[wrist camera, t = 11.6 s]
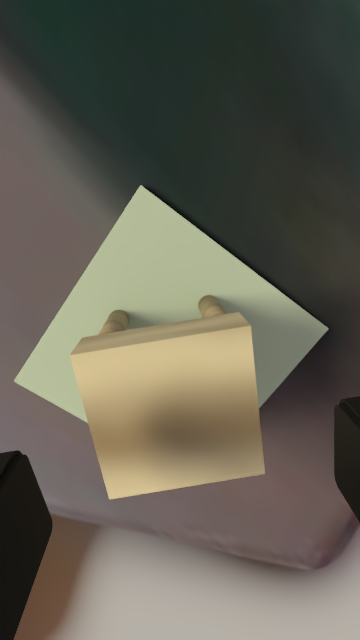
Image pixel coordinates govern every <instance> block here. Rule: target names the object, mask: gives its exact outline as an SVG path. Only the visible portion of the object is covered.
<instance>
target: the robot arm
mask: <svg viewBox="0 0 360 640" xmlns="http://www.w3.org/2000/svg"><path fill="white" fill-rule="evenodd" d="M334 474H335V480H336V483H337V486H338V488H339V490H340V491H341V493H342V495H343V496H344V498H345V499H346V501H347V503H348V504H349V506H350V508H351V509H352V511H353V512H354V514H355V516H356V517H357V519H358V520H359V522H360V396H359V397H353V398H346V399H342V400H340V403H339V405H336V406H335V409H334ZM51 532H52V519H51V516H50V513H49V511H48V508H47V506H46V503H45V500H44V498H43V495H42V493H41V490H40V487H39V485H38V482H37V480H36V477H35V475H34V472H33V469H32V467H31V464H30V462H29V459H28V457H27V456H26V455H22V453H21V452H20V451H11V452H5V453H0V640H13V639H14V636H15V634H16V631H17V628H18V625H19V622H20V619H21V617H22V614H23V611H24V608H25V605H26V603H27V600H28V597H29V594H30V591H31V588H32V586H33V583H34V580H35V577H36V574H37V572H38V568H39V566H40V563H41V560H42V558H43V555H44V552H45V549H46V546H47V544H48V541H49V537H50V535H51Z"/></svg>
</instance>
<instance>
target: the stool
mask: <svg viewBox="0 0 360 640" xmlns="http://www.w3.org/2000/svg"><path fill="white" fill-rule="evenodd" d="M198 307H199V310H200V312H201V315H202V317H203V318H199V319H193V320H187V321H180V322H174V323H168V324H162V325H156V326H150V327H144V328H138V329H132V330H126V328H127V325H128V323H129V317H128V315H127V314H126V313H125V312H124V311H122V310H115V311H113V312H111V314H110V315H109V317H108V319H107V320H106V322H105V324H104V325H103V327H102V329H101V330H100V332H99V334H98V335H95V336H89V337H83V338H81V340H80V341H79V343H78V344H77V345H76V347H75V348H74V350H73V351H72V352H71V354H70V359H71V362H72V366H73V370H74V373H75V377H76V381H77V384H78V388H79V391H80V395H81V399H82V402H83V406H84V410H85V413H86V417H87V420H88V424H89V428H90V431H91V435H92V439H93V442H94V446H95V449H96V453H97V457H98V460H99V464H100V468H101V471H102V475H103V478H104V482H105V486H106V489H107V493H108V497H109V499H115V498H121V497H127V496H133V495H139V494H146V493H152V492H158V491H164V490H170V489H176V488H182V487H188V486H194V485H200V484H206V483H212V482H218V481H224V480H230V479H237V478H243V477H249V476H255V475H261V474H265V468H264V458H263V448H262V437H261V427H260V416H259V406H258V396H257V385H256V375H255V364H254V354H253V343H252V333H251V325H250V324H249V323H248V322H247V321H246V319H245V318H244V317H243V316H242V315H241V314H240V312H236V313H229V314H227V313H226V312H225V310H224V309H223V307H222V306H221V305H220V303H219V302H218V300H217V299H216V298H215V297H214V296H212V295H206V296H203V297H202V298H201V299H200V301H199V303H198Z"/></svg>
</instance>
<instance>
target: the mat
mask: <svg viewBox="0 0 360 640" xmlns="http://www.w3.org/2000/svg"><path fill="white" fill-rule="evenodd" d="M206 295H212V296H214V297H215V298H216V299H217V300H218V302H219V303H220V305H221V306H222V307H223V309H224V310H225V312H226V313H227V314H229V313H236V312H240V314H241V315H242V316H243V317H244V318H245V319H246V321H247V322H248V323H249V324H250V325H251V333H252V343H253V354H254V364H255V375H256V385H257V396H258V406H259V408H260V407H261V406H262V405H263V403H264V402H265V401H266V400H267V399H268V398H269V397H270V395H271V394H272V393H273V392H274V391H275V390H276V389H277V387H278V386H279V385H280V384H281V383H282V382H283V381H284V379H285V378H286V377H287V376H288V375H289V374H290V373H291V371H292V370H293V369H294V368H295V367H296V366H297V365H298V363H299V362H300V361H301V360H302V359H303V358H304V356H305V355H306V354H307V353H308V352H309V351H310V350H311V348H312V347H313V346H314V345H315V344H316V343H317V342H318V340H319V339H320V338H321V337H322V336H323V335H324V334H325V332H326V331H327V330H328V329H329V328H327V327H326V326H325V325H323V324H322V323H321V322H319V321H318V320H317V319H315V318H314V317H313V316H312V315H310V314H309V313H308V312H306V311H305V310H304V309H302V308H301V307H300V306H298V305H297V304H296V303H295V302H293V301H292V300H291V299H289V298H288V297H287V296H285V295H284V294H283V293H281V292H280V291H279V290H278V289H276V288H275V287H274V286H272V285H271V284H270V283H268V282H267V281H266V280H264V279H263V278H262V277H261V276H259V275H258V274H257V273H255V272H254V271H253V270H251V269H250V268H249V267H247V266H246V265H245V264H243V263H242V262H241V261H240V260H238V259H237V258H236V257H234V256H233V255H232V254H230V253H229V252H228V251H226V250H225V249H224V248H223V247H221V246H220V245H219V244H217V243H216V242H215V241H213V240H212V239H211V238H209V237H208V236H207V235H206V234H204V233H203V232H202V231H200V230H199V229H198V228H196V227H195V226H194V225H192V224H191V223H190V222H189V221H187V220H186V219H185V218H183V217H182V216H181V215H179V214H178V213H177V212H175V211H174V210H173V209H172V208H170V207H169V206H168V205H166V204H165V203H164V202H162V201H161V200H160V199H158V198H157V197H156V196H155V195H153V194H152V193H151V192H149V191H148V190H147V189H145V188H144V187H143V186H141V185H140V187H139V188H138V190H137V191H136V193H135V195H134V196H133V198H132V199H131V201H130V202H129V204H128V205H127V207H126V208H125V210H124V212H123V213H122V215H121V216H120V218H119V219H118V221H117V222H116V224H115V225H114V227H113V229H112V230H111V232H110V233H109V235H108V236H107V238H106V239H105V241H104V242H103V244H102V246H101V247H100V249H99V250H98V252H97V253H96V255H95V256H94V258H93V260H92V261H91V263H90V264H89V266H88V267H87V269H86V270H85V272H84V273H83V275H82V277H81V278H80V280H79V281H78V283H77V284H76V286H75V287H74V289H73V290H72V292H71V294H70V295H69V297H68V298H67V300H66V301H65V303H64V304H63V306H62V307H61V309H60V311H59V312H58V314H57V315H56V317H55V318H54V320H53V321H52V323H51V324H50V326H49V328H48V329H47V331H46V332H45V334H44V335H43V337H42V338H41V340H40V341H39V343H38V345H37V346H36V348H35V349H34V351H33V352H32V354H31V355H30V357H29V358H28V360H27V362H26V363H25V365H24V366H23V368H22V369H21V371H20V372H19V374H18V376H17V377H16V379H15V380H14V382H16V383H18V384H19V385H21V386H23V387H25V388H26V389H28V390H30V391H32V392H34V393H35V394H37V395H39V396H41V397H43V398H44V399H46V400H48V401H50V402H51V403H53V404H55V405H57V406H59V407H60V408H62V409H64V410H66V411H68V412H69V413H71V414H73V415H75V416H76V417H78V418H80V419H82V420H84V421H85V422H87V423H88V420H87V417H86V413H85V410H84V406H83V402H82V399H81V395H80V391H79V388H78V384H77V381H76V377H75V373H74V370H73V366H72V362H71V359H70V354H71V352H72V351H73V350H74V348H75V347H76V345H77V344H78V343H79V341H80V340H81V338H83V337H89V336H95V335H98V334H99V332H100V330H101V329H102V327H103V325H104V324H105V322H106V320H107V319H108V317H109V315H110V314H111V312H113V311H115V310H122V311H124V312H125V313H126V314H127V315H128V317H129V323H128V325H127V328H126V330H132V329H138V328H144V327H150V326H156V325H162V324H168V323H174V322H180V321H187V320H193V319H199V318H203V317H202V315H201V312H200V310H199V307H198V303H199V301H200V299H201V298H202V297H203V296H206Z"/></svg>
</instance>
